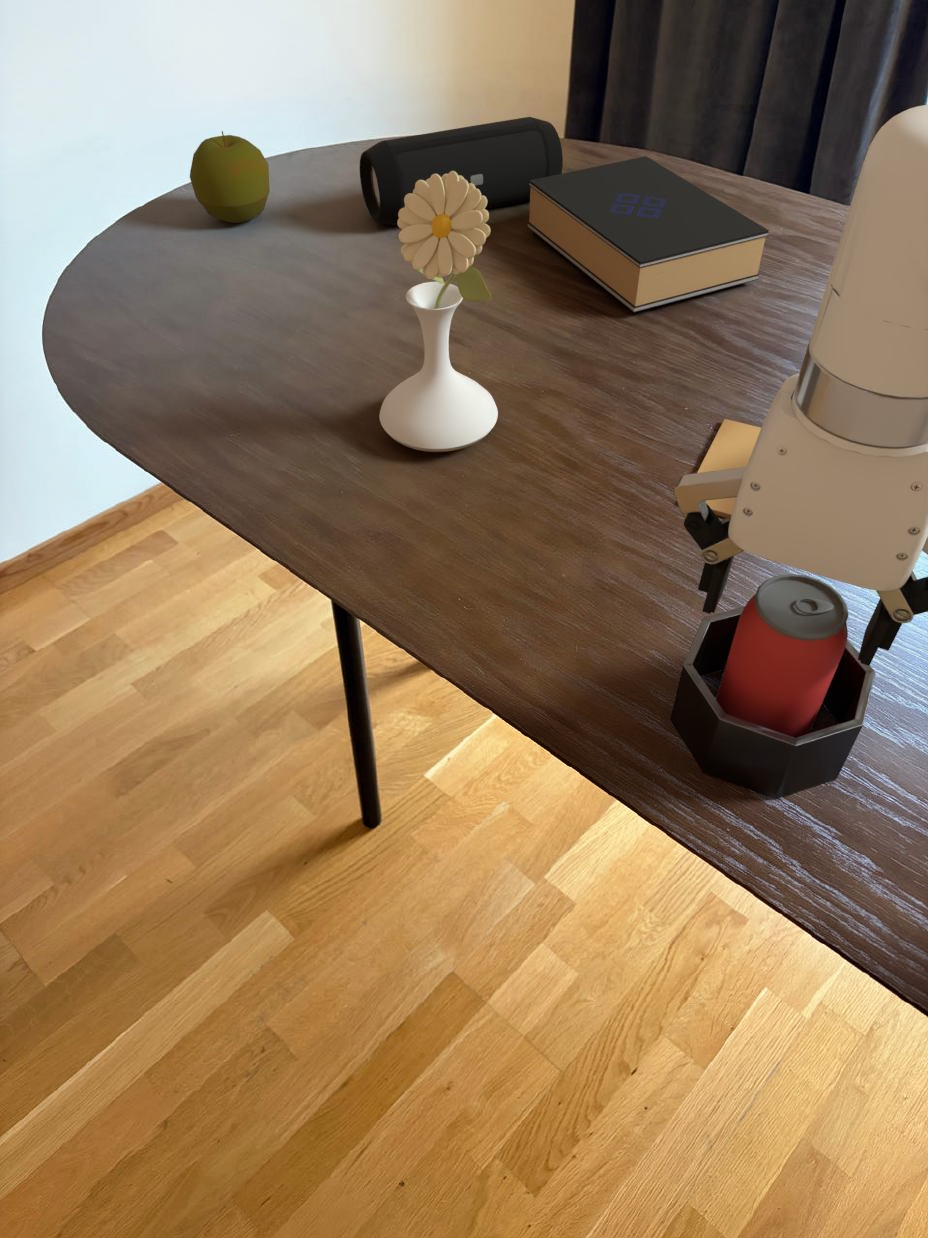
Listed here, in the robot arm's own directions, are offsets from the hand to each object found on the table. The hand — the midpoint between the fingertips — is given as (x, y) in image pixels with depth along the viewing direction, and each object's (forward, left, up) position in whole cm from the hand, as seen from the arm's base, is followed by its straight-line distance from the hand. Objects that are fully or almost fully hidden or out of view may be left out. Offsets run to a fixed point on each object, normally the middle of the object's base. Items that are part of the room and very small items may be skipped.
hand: (788, 623), depth 59 cm
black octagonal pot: (0, 0, -10) cm, 10 cm away
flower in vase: (+36, -22, -10) cm, 43 cm away
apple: (+83, -54, -10) cm, 99 cm away
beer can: (0, 0, -10) cm, 10 cm away
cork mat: (+6, -28, -10) cm, 30 cm away
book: (+31, -65, -10) cm, 73 cm away
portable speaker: (+57, -69, -10) cm, 90 cm away
